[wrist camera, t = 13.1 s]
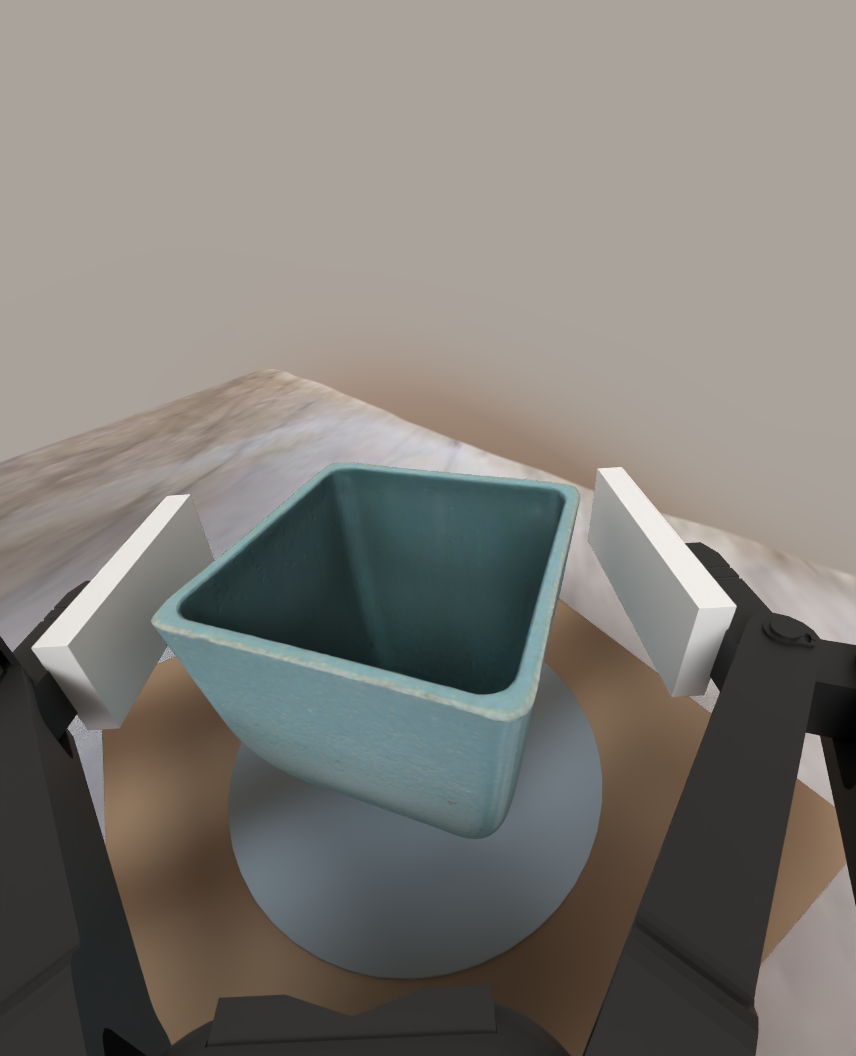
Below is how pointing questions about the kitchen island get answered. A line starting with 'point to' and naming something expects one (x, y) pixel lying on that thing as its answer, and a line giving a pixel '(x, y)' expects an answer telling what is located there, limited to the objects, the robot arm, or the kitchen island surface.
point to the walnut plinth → (415, 855)
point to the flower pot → (386, 635)
